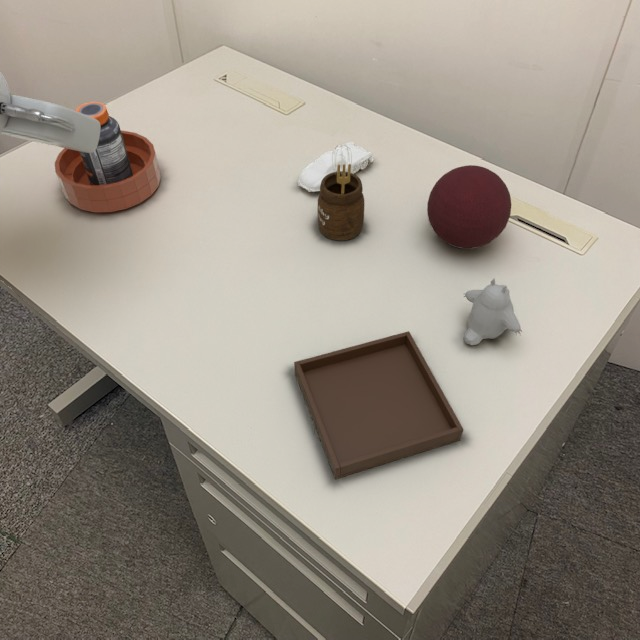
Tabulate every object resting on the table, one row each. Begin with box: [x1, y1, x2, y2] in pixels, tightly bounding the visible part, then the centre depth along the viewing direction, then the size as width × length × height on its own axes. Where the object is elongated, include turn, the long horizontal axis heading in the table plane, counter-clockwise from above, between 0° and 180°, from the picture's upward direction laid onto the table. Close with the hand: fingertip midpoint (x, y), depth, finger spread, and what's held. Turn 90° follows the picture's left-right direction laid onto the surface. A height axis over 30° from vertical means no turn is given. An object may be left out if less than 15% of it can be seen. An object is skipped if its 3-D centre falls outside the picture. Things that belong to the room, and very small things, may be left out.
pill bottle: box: [74, 101, 133, 185], centre depth 86 cm, size 6×6×11 cm
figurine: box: [463, 277, 523, 346], centre depth 69 cm, size 8×6×8 cm
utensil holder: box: [317, 143, 365, 241], centre depth 79 cm, size 6×6×12 cm
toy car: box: [297, 141, 374, 193], centre depth 90 cm, size 5×12×4 cm, turn 135°
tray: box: [293, 331, 465, 480], centre depth 65 cm, size 13×13×2 cm
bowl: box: [54, 130, 162, 213], centre depth 89 cm, size 13×13×4 cm
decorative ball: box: [426, 164, 512, 250], centre depth 79 cm, size 10×10×10 cm
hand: (51, 133), depth 77 cm, fingers open, 8 cm apart
